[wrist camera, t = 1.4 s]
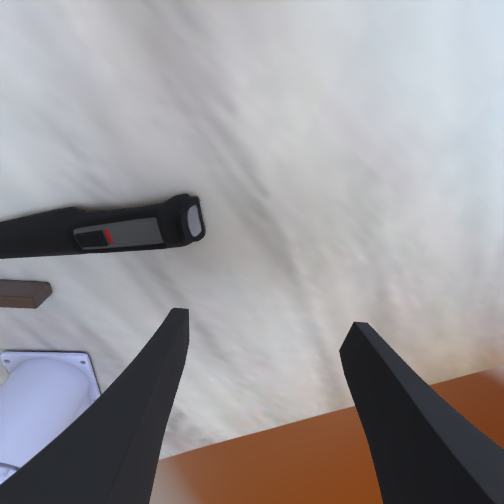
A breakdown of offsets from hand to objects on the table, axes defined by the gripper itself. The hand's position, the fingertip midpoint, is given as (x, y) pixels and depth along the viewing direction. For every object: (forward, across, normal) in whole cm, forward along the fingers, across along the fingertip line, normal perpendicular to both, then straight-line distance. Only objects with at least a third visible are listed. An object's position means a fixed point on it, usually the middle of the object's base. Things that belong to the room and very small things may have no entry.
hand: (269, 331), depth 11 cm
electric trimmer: (+10, +12, +1) cm, 15 cm away
